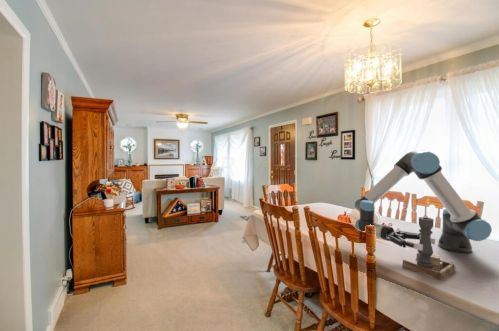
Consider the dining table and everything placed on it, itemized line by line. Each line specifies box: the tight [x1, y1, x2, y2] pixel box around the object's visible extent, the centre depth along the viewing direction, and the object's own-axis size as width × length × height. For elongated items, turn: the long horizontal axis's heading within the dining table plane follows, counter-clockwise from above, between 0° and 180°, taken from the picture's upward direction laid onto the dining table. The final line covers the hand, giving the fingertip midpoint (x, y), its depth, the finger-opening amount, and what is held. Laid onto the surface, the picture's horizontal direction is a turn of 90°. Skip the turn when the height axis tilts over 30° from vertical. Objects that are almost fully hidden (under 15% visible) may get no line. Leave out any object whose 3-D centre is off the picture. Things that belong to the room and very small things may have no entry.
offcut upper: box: [430, 253, 441, 264], centre depth 118 cm, size 4×7×3 cm, turn 59°
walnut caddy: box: [402, 252, 456, 281], centre depth 116 cm, size 16×16×3 cm
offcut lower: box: [432, 262, 444, 272], centre depth 118 cm, size 5×8×3 cm, turn 35°
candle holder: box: [416, 216, 435, 270], centre depth 114 cm, size 6×6×25 cm
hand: (429, 244), depth 112 cm, fingers open, 13 cm apart
